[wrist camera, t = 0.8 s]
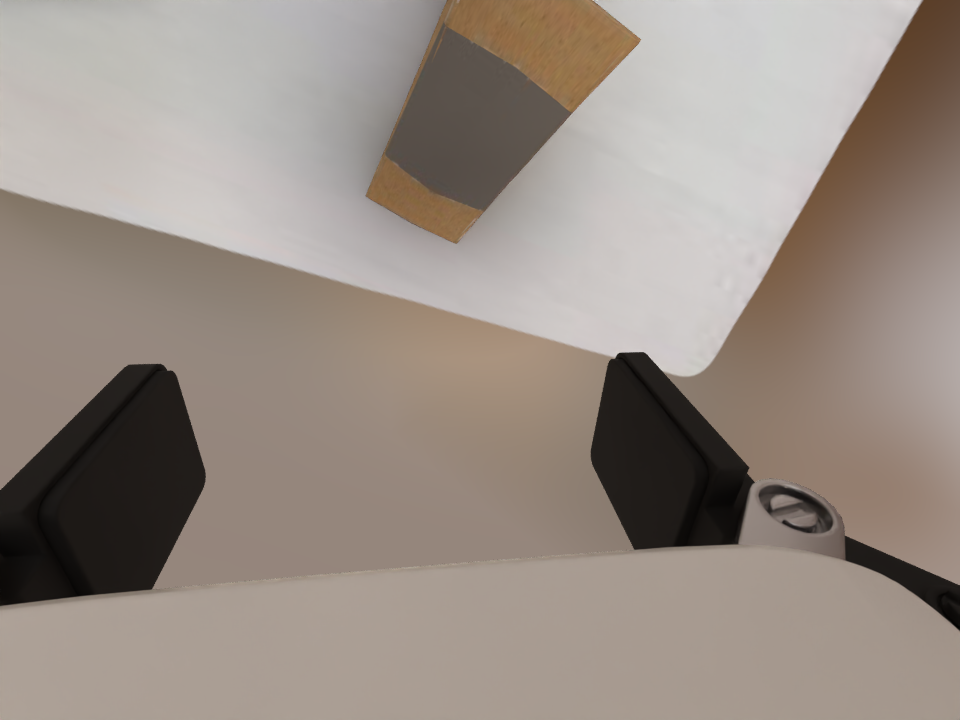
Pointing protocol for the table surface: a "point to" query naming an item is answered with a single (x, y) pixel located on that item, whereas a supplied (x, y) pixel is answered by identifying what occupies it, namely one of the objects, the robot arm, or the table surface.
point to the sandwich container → (490, 103)
